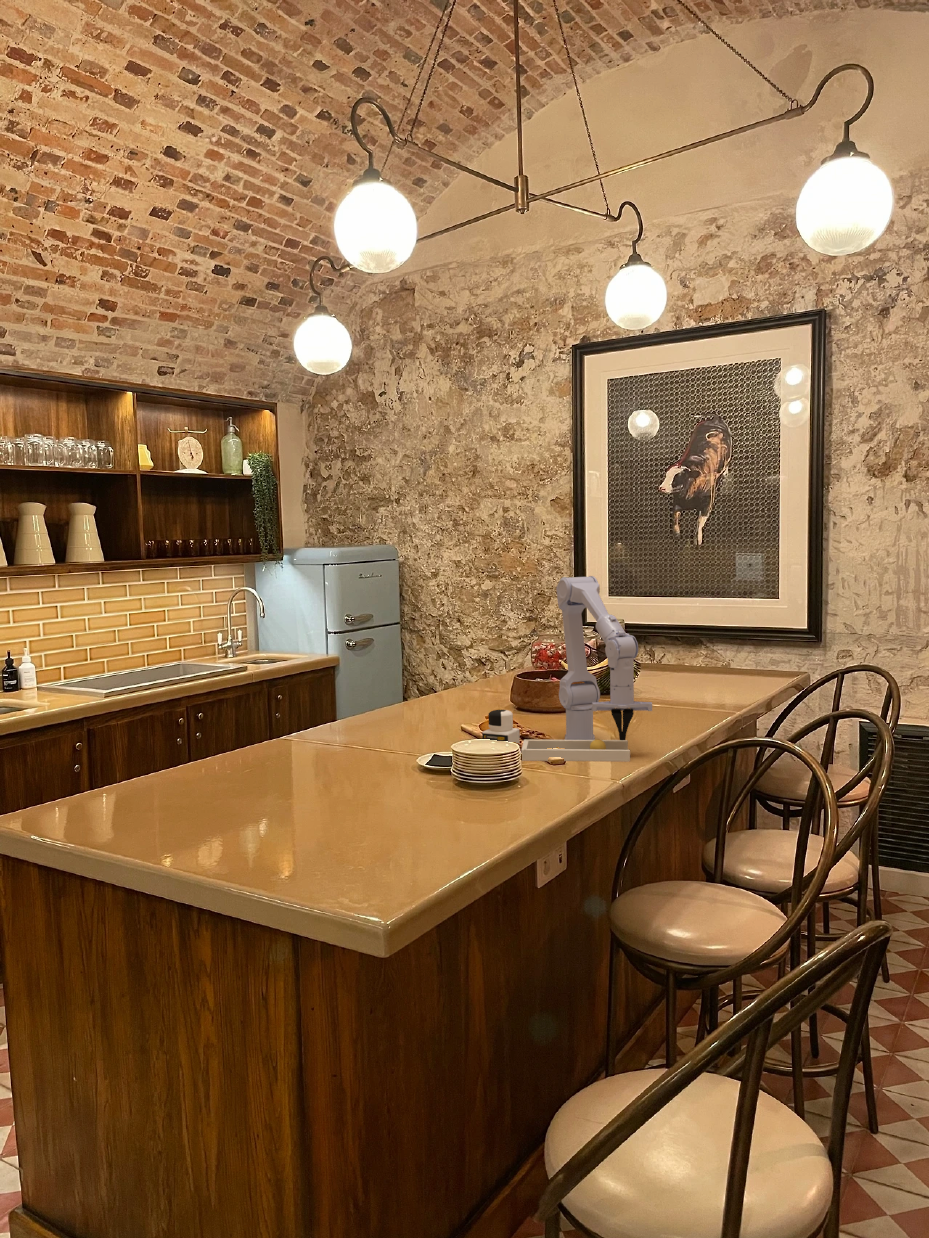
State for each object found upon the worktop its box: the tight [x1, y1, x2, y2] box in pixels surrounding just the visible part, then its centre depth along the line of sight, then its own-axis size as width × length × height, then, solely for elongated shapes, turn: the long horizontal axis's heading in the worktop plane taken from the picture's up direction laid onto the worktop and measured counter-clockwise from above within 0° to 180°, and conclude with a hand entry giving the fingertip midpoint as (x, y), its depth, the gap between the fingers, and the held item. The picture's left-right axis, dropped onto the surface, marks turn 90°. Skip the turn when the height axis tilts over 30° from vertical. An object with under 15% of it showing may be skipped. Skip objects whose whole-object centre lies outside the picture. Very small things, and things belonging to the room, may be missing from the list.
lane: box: [520, 739, 631, 763], centre depth 237 cm, size 12×26×3 cm, turn 83°
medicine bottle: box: [481, 709, 521, 744], centre depth 237 cm, size 7×7×12 cm
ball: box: [590, 738, 606, 750], centre depth 236 cm, size 4×4×4 cm
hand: (622, 739), depth 235 cm, fingers closed
